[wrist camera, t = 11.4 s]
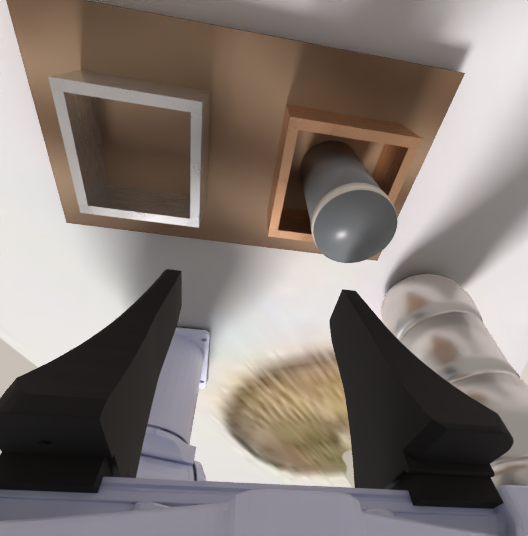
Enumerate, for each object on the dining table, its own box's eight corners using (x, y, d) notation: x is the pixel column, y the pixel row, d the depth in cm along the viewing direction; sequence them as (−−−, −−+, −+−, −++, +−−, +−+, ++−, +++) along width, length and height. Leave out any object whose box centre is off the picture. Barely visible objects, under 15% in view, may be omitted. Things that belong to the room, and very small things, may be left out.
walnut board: (373, 253, 24) (377, 260, 23) (73, 215, 22) (66, 222, 21) (455, 71, 16) (465, 73, 16) (16, -13, 14) (2, -16, 14)
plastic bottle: (379, 265, 25) (593, 693, 9) (466, 260, 24) (851, 692, 8) (369, 321, 28) (504, 685, 13) (444, 316, 28) (677, 683, 12)
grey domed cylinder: (347, 201, 20) (378, 268, 14) (293, 193, 20) (303, 257, 14) (367, 145, 18) (413, 198, 12) (307, 134, 17) (326, 183, 12)
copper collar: (360, 224, 21) (373, 249, 19) (267, 212, 20) (267, 236, 18) (400, 123, 17) (423, 138, 15) (286, 104, 17) (290, 116, 14)
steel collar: (206, 204, 20) (198, 227, 18) (102, 190, 19) (80, 212, 17) (210, 91, 16) (202, 102, 14) (80, 69, 15) (48, 76, 13)
